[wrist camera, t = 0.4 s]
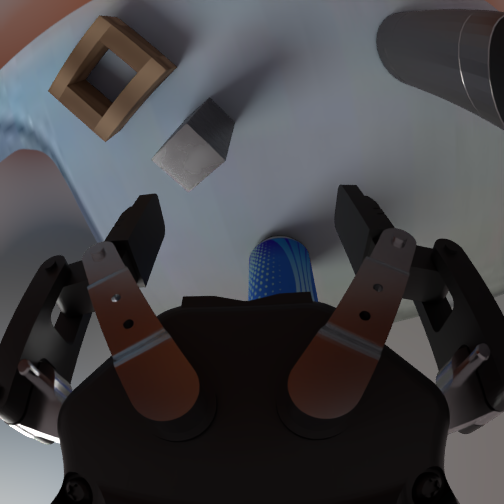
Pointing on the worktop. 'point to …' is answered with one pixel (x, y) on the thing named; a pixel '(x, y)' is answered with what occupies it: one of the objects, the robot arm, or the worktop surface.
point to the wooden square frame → (85, 59)
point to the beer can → (280, 268)
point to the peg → (197, 146)
